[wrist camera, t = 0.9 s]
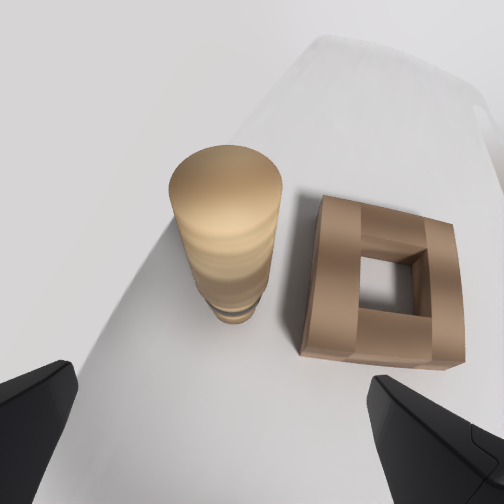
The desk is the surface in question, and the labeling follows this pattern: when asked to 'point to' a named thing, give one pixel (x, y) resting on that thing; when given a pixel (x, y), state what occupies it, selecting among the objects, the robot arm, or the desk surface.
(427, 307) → the walnut square frame
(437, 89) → the desk surface
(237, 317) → the tan tall cylinder
